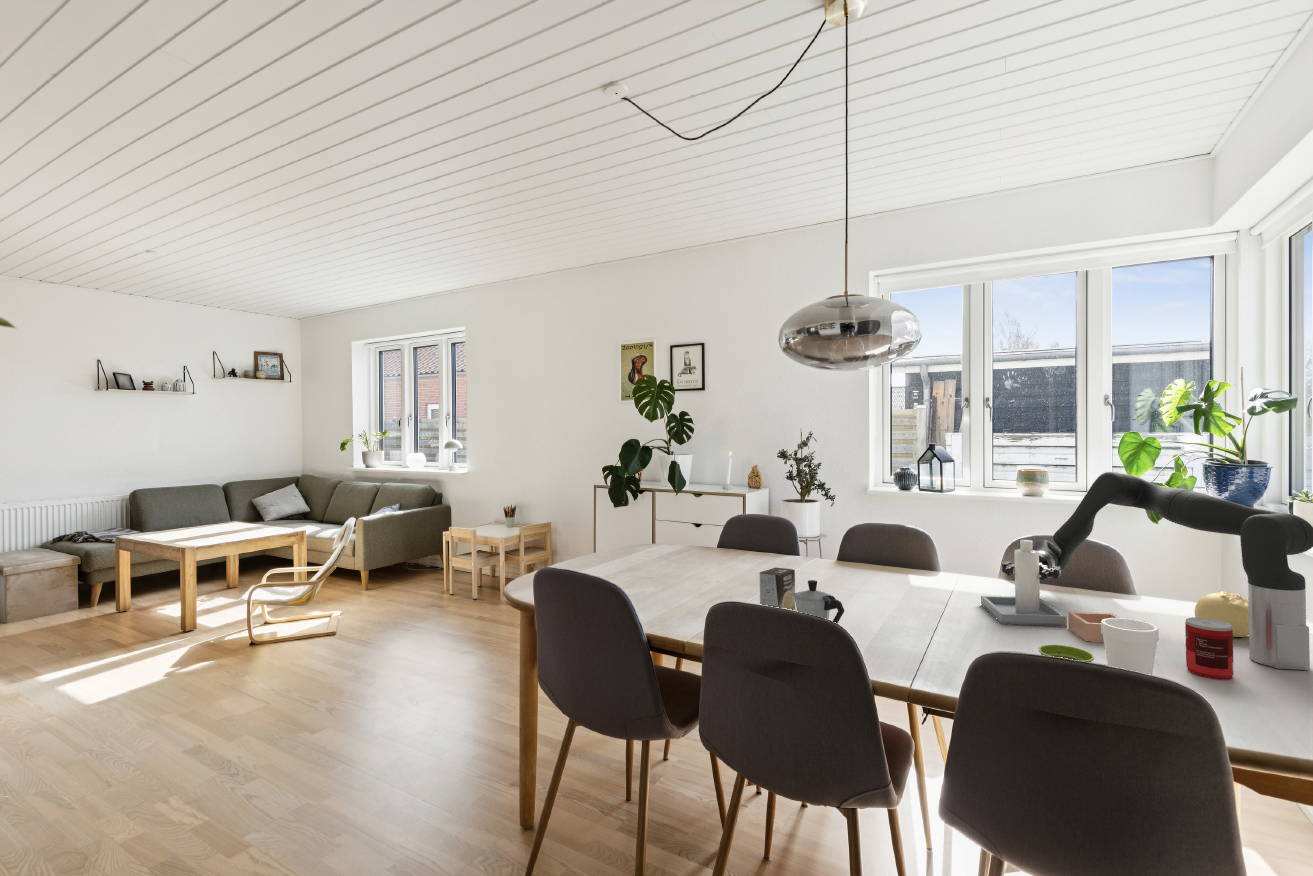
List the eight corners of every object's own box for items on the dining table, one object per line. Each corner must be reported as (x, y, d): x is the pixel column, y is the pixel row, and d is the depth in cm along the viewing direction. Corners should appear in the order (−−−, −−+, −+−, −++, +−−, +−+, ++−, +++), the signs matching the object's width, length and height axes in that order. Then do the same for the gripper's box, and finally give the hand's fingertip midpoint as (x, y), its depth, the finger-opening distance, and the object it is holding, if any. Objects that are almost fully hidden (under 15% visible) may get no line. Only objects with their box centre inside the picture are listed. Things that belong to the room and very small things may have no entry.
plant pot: (1084, 687, 130) (1083, 646, 130) (1103, 707, 121) (1102, 662, 121) (1033, 684, 133) (1032, 643, 133) (1047, 702, 124) (1047, 658, 124)
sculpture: (1261, 644, 153) (1260, 600, 153) (1196, 636, 160) (1195, 593, 160) (1254, 632, 162) (1253, 590, 162) (1193, 624, 169) (1192, 584, 169)
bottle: (1043, 617, 176) (1041, 542, 176) (1019, 617, 177) (1018, 542, 177) (1035, 611, 182) (1034, 539, 182) (1012, 611, 183) (1011, 538, 183)
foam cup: (1140, 679, 134) (1139, 618, 134) (1171, 697, 125) (1169, 631, 125) (1092, 678, 135) (1091, 617, 135) (1119, 696, 126) (1118, 631, 126)
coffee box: (780, 635, 169) (779, 575, 169) (759, 630, 173) (758, 572, 173) (796, 626, 176) (795, 569, 176) (776, 622, 180) (774, 566, 180)
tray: (1066, 626, 170) (1066, 616, 170) (1001, 624, 174) (1001, 614, 174) (1039, 606, 190) (1038, 597, 190) (981, 605, 193) (980, 595, 193)
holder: (1133, 643, 156) (1133, 625, 156) (1086, 641, 158) (1085, 623, 158) (1113, 630, 166) (1112, 613, 166) (1068, 628, 168) (1068, 612, 168)
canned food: (1209, 665, 140) (1208, 616, 140) (1244, 679, 132) (1243, 627, 132) (1176, 667, 140) (1175, 617, 140) (1209, 681, 132) (1207, 628, 132)
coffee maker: (782, 652, 156) (780, 579, 156) (803, 643, 162) (802, 573, 162) (833, 668, 145) (831, 589, 145) (855, 658, 150) (853, 583, 150)
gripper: (1011, 549, 195) (997, 557, 183) (1065, 554, 186) (1054, 563, 174) (1012, 573, 195) (997, 583, 183) (1066, 580, 186) (1054, 591, 174)
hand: (1025, 574), depth 178 cm, fingers open, 8 cm apart
